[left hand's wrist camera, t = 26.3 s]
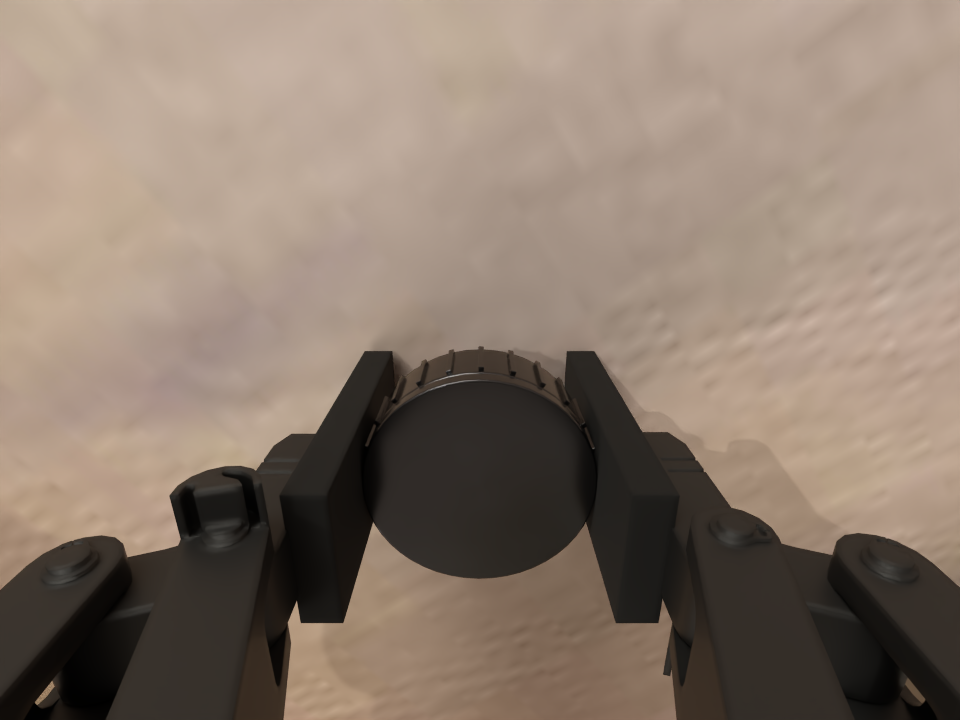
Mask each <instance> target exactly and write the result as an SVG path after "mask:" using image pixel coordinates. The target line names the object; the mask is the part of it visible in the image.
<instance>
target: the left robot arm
mask: <svg viewBox="0 0 960 720" xmlns="http://www.w3.org/2000/svg"><path fill="white" fill-rule="evenodd" d="M394 389H395V386H394V371H393V356H392V351H365V352H364V354H363V355H362V357H361V359H360V360H359V362H358V364H357V365H356V367H355V369H354V370H353V372H352V374H351V375H350V377H349V379H348V381H347V382H346V384H345V386H344V387H343V389H342V391H341V392H340V394H339V396H338V397H337V399H336V401H335V402H334V404H333V406H332V407H331V409H330V411H329V412H328V414H327V416H326V418H325V419H324V421H323V423H322V424H321V426H320V428H319V429H318V431H317V433H316V434H291V435H289V436H288V437H286V438H285V439H283V440H282V441H280V442H279V443H277V444H276V445H274V446H273V448H272V449H271V451H270V452H269V453H268V455H267V456H266V458H265V459H264V462H262V463H261V465H260V466H259V467H258V469H257V470H256V471H255V470H254V469H252V468H247V467H243V466H225V467H220V468H215V469H211V470H207V471H204V472H202V473H200V474H197V475H195V476H192V477H190V478H189V479H187V480H186V481H184V482H183V483H181V484H180V485H178V486H177V487H176V488H175V490H174V491H173V492H172V493H171V494H170V500H171V504H172V507H173V511H174V515H175V519H176V523H177V526H178V530H179V534H180V538H181V540H180V543H179V545H178V546H176V547H172V548H169V549H165V550H160V551H155V552H151V553H146V554H141V555H137V556H132V557H127V555H126V552H125V548H124V545H123V543H121V542H120V541H119V540H118V539H116V538H115V537H108V536H93V537H85V538H81V539H77V540H74V541H70V542H67V543H64V544H62V545H60V546H58V547H56V548H54V549H52V550H50V551H48V552H46V553H44V554H43V555H41V556H40V557H38V558H37V559H36V560H34V561H33V562H32V563H30V564H29V565H27V566H26V567H25V568H24V569H23V570H22V571H21V572H20V573H19V574H17V575H16V576H15V577H14V578H13V579H12V580H11V581H10V582H9V583H8V584H6V585H5V586H4V587H3V588H2V589H1V590H0V720H283V718H284V708H285V698H286V688H287V678H288V668H289V658H290V648H291V640H290V633H289V628H288V621H289V618H290V616H291V613H292V611H293V608H294V606H295V604H296V601H297V603H298V609H299V615H300V621H301V623H343V622H344V619H345V616H346V612H347V609H348V605H349V602H350V599H351V595H352V592H353V588H354V585H355V582H356V578H357V575H358V571H359V568H360V565H361V561H362V558H363V554H364V551H365V548H366V544H367V541H368V537H369V534H370V530H371V527H372V524H373V520H372V518H371V516H370V514H369V512H368V509H367V506H366V503H365V500H364V495H363V488H362V468H363V461H364V457H365V454H366V451H367V450H364V446H365V444H366V441H367V439H368V436H369V434H370V431H371V429H372V426H373V424H374V421H375V419H376V416H377V414H378V411H379V409H380V406H381V404H382V401H383V399H384V397H385V396H387V397H389V396H390V394H391V393H392V391H393V390H394ZM565 389H566V391H567V392H568V394H569V395H570V397H571V398H572V399H574V398H576V400H577V402H578V404H579V407H580V410H581V412H582V415H583V417H584V420H585V422H586V425H587V429H588V432H589V434H590V437H591V439H592V442H593V444H594V447H595V453H594V457H595V460H596V466H597V475H598V476H597V491H596V496H595V501H594V504H593V507H592V510H591V512H590V515H589V517H588V519H587V521H586V523H587V527H588V530H589V533H590V537H591V540H592V544H593V547H594V550H595V554H596V557H597V561H598V564H599V567H600V571H601V574H602V578H603V581H604V584H605V588H606V591H607V594H608V598H609V601H610V605H611V608H612V611H613V615H614V618H615V622H616V623H658V622H659V616H660V610H661V604H662V598H663V601H664V603H665V605H666V608H667V610H668V613H669V615H670V617H671V620H672V628H671V633H670V638H669V644H668V649H667V655H666V660H665V666H664V673H663V675H667V676H670V673H671V668H672V677H673V687H674V697H675V707H676V717H677V720H960V587H959V586H957V585H956V584H955V583H954V582H953V581H952V580H951V579H950V578H949V577H948V576H946V575H945V574H944V573H943V572H942V571H941V570H940V569H939V568H938V567H936V566H935V565H934V564H933V563H932V562H930V561H929V560H928V559H926V558H925V557H923V556H922V555H921V554H919V553H918V552H917V551H915V550H913V549H911V548H908V547H906V546H904V545H902V544H900V543H899V542H897V541H894V540H891V539H886V538H885V537H880V536H877V535H869V534H861V533H856V534H849V535H844V536H843V537H842V538H840V539H839V540H838V541H837V542H836V545H835V548H834V552H833V555H829V554H824V553H819V552H815V551H810V550H805V549H800V548H796V547H792V546H788V545H784V544H781V542H780V539H779V538H778V536H777V535H776V533H775V532H774V531H773V529H772V528H771V527H770V526H769V525H767V524H766V523H765V522H763V521H762V520H761V519H759V518H757V517H755V516H753V515H751V514H749V513H747V512H745V511H742V510H738V509H734V508H731V507H730V505H729V504H728V502H727V501H726V500H725V498H724V497H723V496H722V494H721V493H720V491H719V490H718V489H717V487H716V486H715V484H714V483H713V482H712V480H711V479H710V478H709V476H708V475H707V473H706V472H704V469H703V468H702V466H701V465H700V464H699V462H698V461H696V460H695V457H694V455H693V454H692V453H691V451H690V450H689V448H688V447H687V446H686V444H685V443H683V442H682V441H680V440H679V439H677V438H676V437H674V436H673V435H671V434H670V433H668V432H642V431H641V429H640V427H639V426H638V424H637V422H636V421H635V419H634V417H633V416H632V414H631V412H630V411H629V409H628V407H627V406H626V404H625V402H624V401H623V399H622V397H621V396H620V394H619V392H618V390H617V389H616V387H615V385H614V384H613V382H612V380H611V379H610V377H609V375H608V374H607V372H606V370H605V369H604V367H603V365H602V364H601V362H600V360H599V359H598V357H597V355H596V354H595V352H594V351H567V357H566V372H565ZM907 678H908V679H909V680H910V681H911V682H912V684H913V685H914V686H915V687H916V688H917V690H918V691H919V692H920V693H921V695H922V696H923V697H924V698H925V701H924V703H921V702H920V701H919V700H918V699H917V698H916V697H915V696H914V695H913V694H912V693H911V691H910V690H909V689H908V688H907V686H906V685H905V683H906V681H907ZM51 681H53V683H54V686H55V687H54V688H53V690H52V691H51V692H50V693H49V695H48V696H47V697H46V698H45V699H44V700H43V701H42V702H41V703H40V704H38V705H36V704H35V701H36V700H37V699H38V697H39V696H40V695H41V694H42V692H43V691H44V690H45V689H46V688H47V686H48V685H49V684H50V683H51Z"/></svg>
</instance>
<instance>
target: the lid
mask: <svg viewBox="0 0 960 720" xmlns="http://www.w3.org/2000/svg"><path fill="white" fill-rule="evenodd" d="M364 450H367V451H366V454H365V457H364V461H363V468H362V488H363V495H364V500H365V503H366V506H367V509H368V512H369V514H370V516H371V518H372V520H373V522H374V524H375V525H376V527H377V528H378V530H379V531H380V533H381V534H382V535H383V536H384V537H385V539H386V540H387V541H388V542H389V543H390V544H391V545H392V546H393V547H394V548H396V549H397V550H398V551H399V552H400V553H402V554H403V555H405V556H406V557H407V558H409V559H410V560H412V561H414V562H416V563H418V564H420V565H421V566H423V567H426V568H428V569H431V570H434V571H436V572H439V573H443V574H447V575H451V576H457V577H463V578H477V579H481V578H496V577H503V576H508V575H512V574H516V573H520V572H523V571H526V570H528V569H531V568H534V567H536V566H538V565H540V564H542V563H544V562H546V561H547V560H549V559H550V558H552V557H553V556H555V555H557V554H558V553H559V552H560V551H561V550H563V549H564V548H565V547H566V546H567V545H568V544H569V543H570V542H571V541H572V540H573V539H574V538H575V537H576V536H577V534H578V533H579V532H580V530H581V529H582V527H583V526H584V524H585V522H586V521H587V519H588V517H589V515H590V512H591V510H592V507H593V504H594V501H595V496H596V491H597V476H598V475H597V466H596V460H595V457H594V453H595V447H594V444H593V442H592V439H591V437H590V434H589V432H588V429H587V425H586V422H585V420H584V417H583V415H582V412H581V410H580V407H579V404H578V402H577V400H576V398H574V399H572V398H571V397H570V395H569V394H568V392H567V391H566V389H565V388H564V385H563V382H562V380H561V379H560V378H559V377H558V378H557V379H555V378H554V377H553V376H552V375H551V374H550V373H549V372H547V371H546V370H544V369H543V368H541V365H540V363H539V362H538V361H535V363H533V362H531V361H529V360H527V359H525V358H522V357H519V356H516V355H514V354H513V351H510V350H508V353H506V352H501V351H495V350H484V347H479V350H465V351H459V352H454V350H449V354H446V355H443V356H440V357H437V358H435V359H433V360H431V361H428V362H427V360H426V359H425V360H423V361H422V363H421V366H420V367H418V368H416V369H415V370H413V371H412V372H411V373H410V374H408V375H407V376H406V377H404V376H403V375H402V376H401V377H400V378H399V381H398V383H397V386H396V387H395V389H394V390H393V391H392V393H391V394H390V396H389V397H387V396H385V397H384V399H383V401H382V404H381V406H380V409H379V411H378V414H377V416H376V419H375V421H374V424H373V426H372V429H371V431H370V434H369V436H368V439H367V441H366V444H365V446H364Z"/></svg>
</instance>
